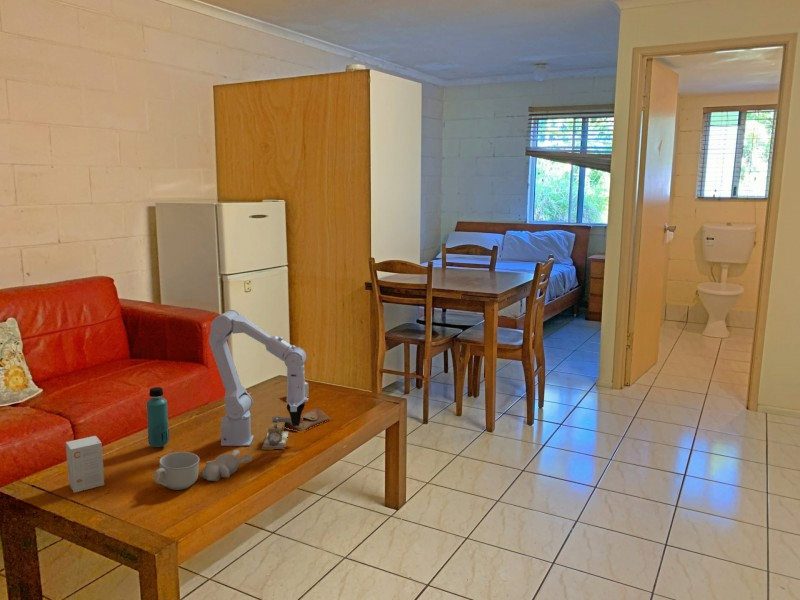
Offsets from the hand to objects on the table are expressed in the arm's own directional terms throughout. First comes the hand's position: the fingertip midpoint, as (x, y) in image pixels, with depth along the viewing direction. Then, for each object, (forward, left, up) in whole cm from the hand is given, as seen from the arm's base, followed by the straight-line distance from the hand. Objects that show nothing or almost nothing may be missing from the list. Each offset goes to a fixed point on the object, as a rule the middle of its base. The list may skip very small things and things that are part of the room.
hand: (295, 425), depth 209 cm
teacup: (-31, -29, -8) cm, 43 cm away
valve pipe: (-7, +3, -7) cm, 11 cm away
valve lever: (-3, +3, 0) cm, 4 cm away
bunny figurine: (-19, -20, -8) cm, 28 cm away
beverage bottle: (-44, -2, -7) cm, 45 cm away
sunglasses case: (+3, +19, -8) cm, 21 cm away
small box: (-56, -28, -7) cm, 63 cm away
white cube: (-4, +48, -8) cm, 49 cm away
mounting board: (-7, +3, -7) cm, 11 cm away
